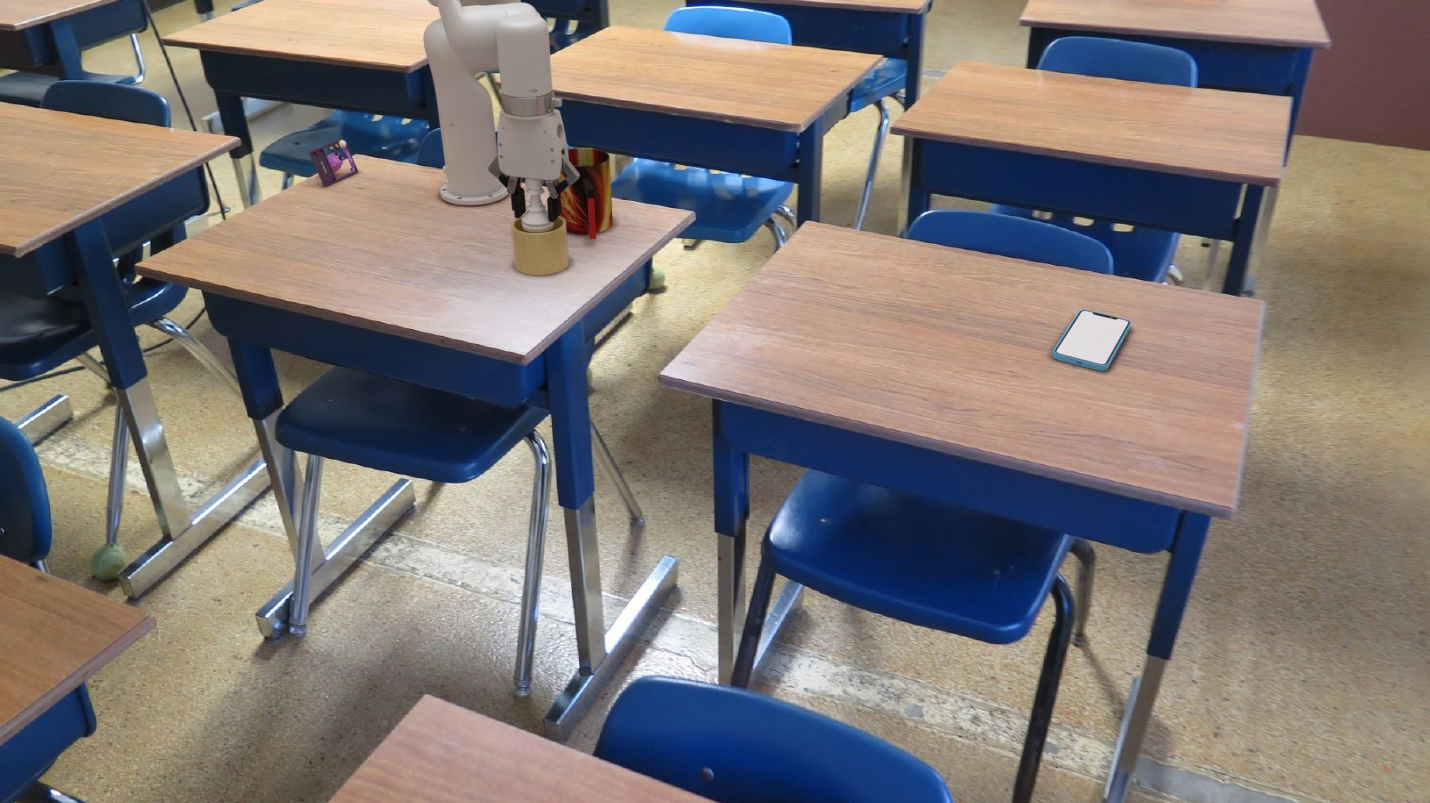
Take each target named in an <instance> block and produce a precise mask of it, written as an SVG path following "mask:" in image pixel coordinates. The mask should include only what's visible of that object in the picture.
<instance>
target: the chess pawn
mask: <svg viewBox="0 0 1430 803" xmlns="http://www.w3.org/2000/svg"><path fill="white" fill-rule="evenodd" d="M544 183H545V180H541V179H531V178H524V184H525V186H526V187H527V189H526V190H525V194H527V195H529V197H530V198H529V199H530V201H529V205H528V206H526V212H525V213H524V214H523V215H522V218H521V220H522V228H523V229H524V230H525V231H527V232H532V233H542V232H546V231H549V230H551V229H552V228H553V226H554V222H550V221H549V220H548V210H546V209H547V205H545V204H543V201H542V194H544V193H545V189H544V188H543V185H544Z"/></svg>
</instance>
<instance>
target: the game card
mask: <svg viewBox="0 0 1430 803" xmlns="http://www.w3.org/2000/svg"><path fill="white" fill-rule="evenodd" d="M326 148H327V150H328V151H329V152H330V153H329V154H328V155H327V154H326V152H325V150H324V149H326ZM340 148H341V149H342V150H343V153H344V154H345V157H346V158H347V160H348V162H349V165H350V168H349V171H350V172H349V173H347V174H345V175H342V176H340V177H338V178H337V176H336V175H335V173H337V172H338V171H339V170H341V168H342V166H343V165H344V162H343V160H346V159H345V157H342V156H340V154H341V152H338V153H337V152H335V151H338V150H341V149H340ZM308 154H309V156H310V159H311V161H312V163H313V165H314V167H315V170H316V172H317V175H318V176H319V179H320V181H321V183H322V185H323V187H327V186H329V185H332V184H334V183H337V182H339V181H341V180H344V179H346V178H347V177H350V176H353V175H354V174H356V173H359V170H358V167H357V165H356V162H355V160H354V158H353V155H352V154H351V151H350V149H349V146H348V144H347V142H346V140H345V138H340V139H338V140H334V141H333V142H330V143H328V144H325V145H323V146H320V147H318V148H315V149H313V150H311V151H308Z"/></svg>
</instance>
